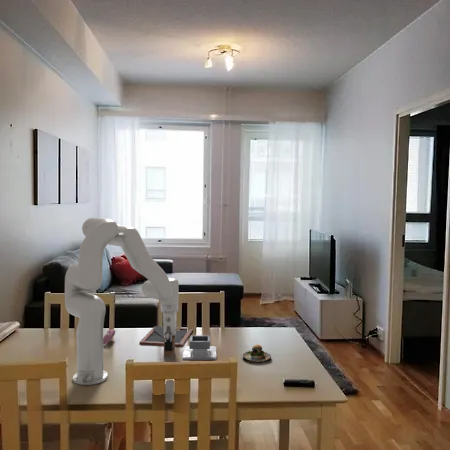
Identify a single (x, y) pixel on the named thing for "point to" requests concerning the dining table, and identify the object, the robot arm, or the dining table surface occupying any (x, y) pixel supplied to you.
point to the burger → (256, 354)
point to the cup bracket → (199, 349)
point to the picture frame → (158, 337)
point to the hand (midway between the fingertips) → (169, 346)
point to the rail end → (172, 353)
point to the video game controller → (108, 336)
